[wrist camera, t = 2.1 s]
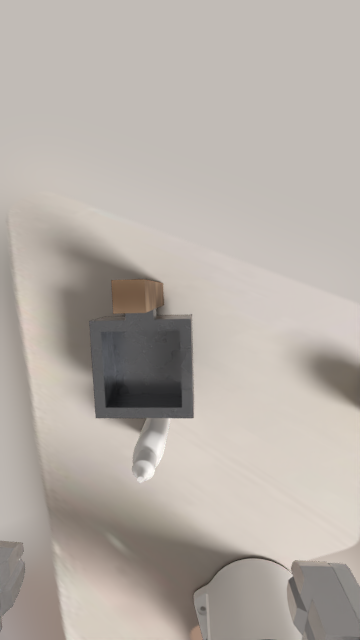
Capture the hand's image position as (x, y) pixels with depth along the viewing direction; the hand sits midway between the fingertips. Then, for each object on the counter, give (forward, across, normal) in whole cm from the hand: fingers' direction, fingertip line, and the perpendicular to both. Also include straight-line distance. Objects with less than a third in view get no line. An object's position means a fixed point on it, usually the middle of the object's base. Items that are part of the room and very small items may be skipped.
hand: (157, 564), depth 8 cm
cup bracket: (+30, -3, -2) cm, 30 cm away
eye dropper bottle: (+28, -2, -14) cm, 32 cm away
